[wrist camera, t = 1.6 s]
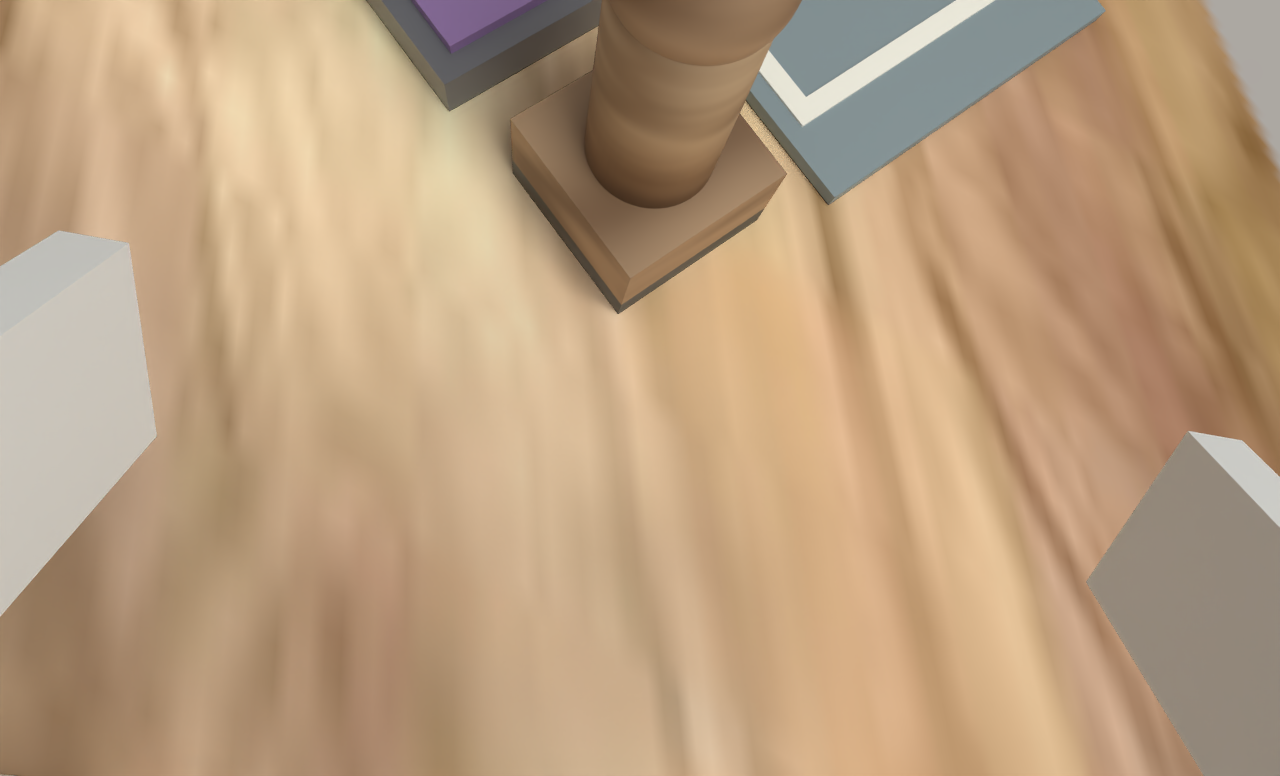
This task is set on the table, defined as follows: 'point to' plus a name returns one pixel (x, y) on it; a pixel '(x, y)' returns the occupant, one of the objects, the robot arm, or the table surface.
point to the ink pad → (481, 38)
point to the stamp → (654, 140)
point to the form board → (894, 74)
